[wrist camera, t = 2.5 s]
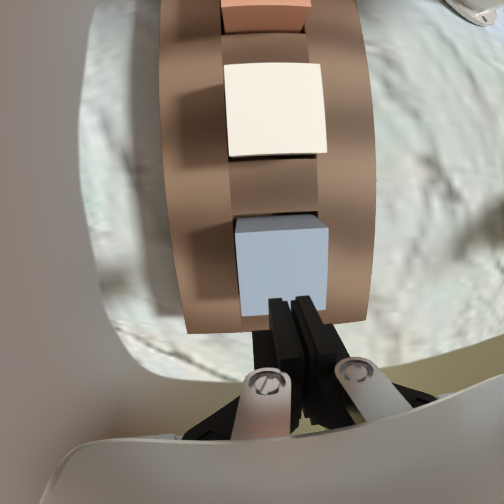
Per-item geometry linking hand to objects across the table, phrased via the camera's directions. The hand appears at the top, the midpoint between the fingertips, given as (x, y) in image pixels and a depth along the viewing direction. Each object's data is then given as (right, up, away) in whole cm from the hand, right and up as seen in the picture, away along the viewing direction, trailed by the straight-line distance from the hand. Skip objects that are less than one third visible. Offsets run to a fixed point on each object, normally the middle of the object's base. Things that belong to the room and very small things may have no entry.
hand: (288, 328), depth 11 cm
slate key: (0, +3, +8) cm, 9 cm away
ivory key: (0, +12, +5) cm, 13 cm away
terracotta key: (-1, +20, +2) cm, 20 cm away
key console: (0, +13, +9) cm, 15 cm away
